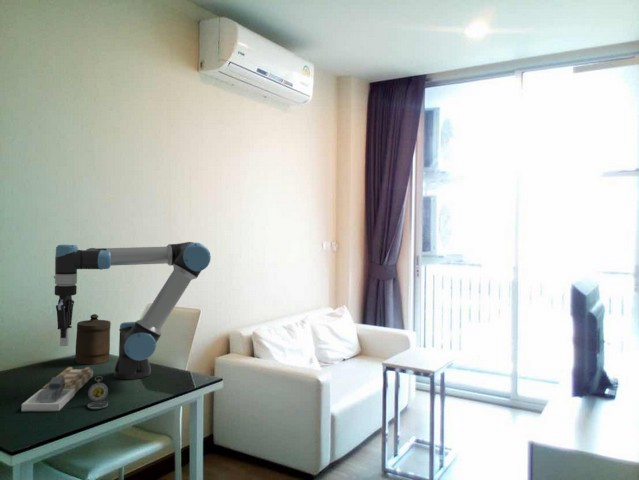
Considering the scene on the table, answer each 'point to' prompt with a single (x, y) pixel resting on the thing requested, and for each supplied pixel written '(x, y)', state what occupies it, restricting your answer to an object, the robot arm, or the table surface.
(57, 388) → the grey square block
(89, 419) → the table surface
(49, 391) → the grey cubic block
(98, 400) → the pocket watch
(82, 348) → the wooden container
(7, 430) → the table surface
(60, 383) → the gray cube
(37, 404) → the tray
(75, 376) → the slot board
